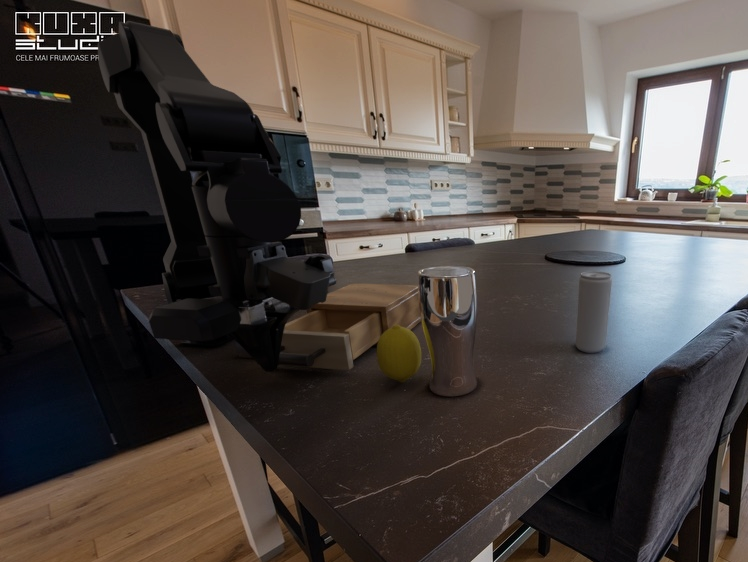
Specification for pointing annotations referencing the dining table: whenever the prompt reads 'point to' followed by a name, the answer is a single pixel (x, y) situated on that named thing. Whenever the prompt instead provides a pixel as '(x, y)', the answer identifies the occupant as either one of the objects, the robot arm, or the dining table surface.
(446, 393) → the beer glass
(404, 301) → the cabinet
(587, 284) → the beverage can
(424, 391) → the dining table surface
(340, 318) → the drawer
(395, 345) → the lemon
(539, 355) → the dining table surface
